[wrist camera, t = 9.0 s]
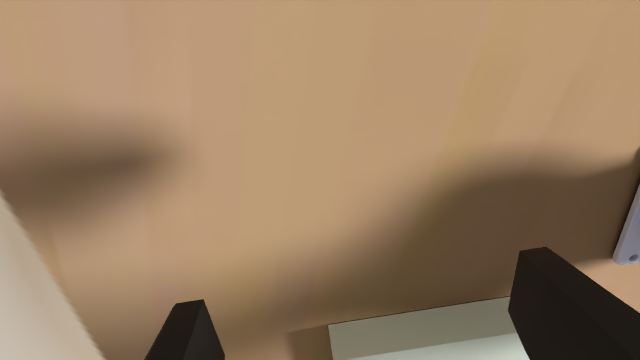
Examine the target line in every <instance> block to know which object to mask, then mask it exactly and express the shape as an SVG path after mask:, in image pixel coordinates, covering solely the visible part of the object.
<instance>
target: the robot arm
mask: <svg viewBox="0 0 640 360" xmlns="http://www.w3.org/2000/svg"><path fill="white" fill-rule="evenodd" d="M613 260H614V261H615V262H616V263H617V264H619V265H624V264H631V263H637V262H640V185H639V187H638V190H637V193H636V195H635V198H634V201H633V203H632V206H631V209H630V211H629V214H628V217H627V220H626V222H625V225H624V228H623V230H622V233H621V236H620V238H619V241H618V244H617V246H616V249H615V252H614V254H613ZM508 313H509V315H510V317H511V320H512V322H513V325H514V327H515V329H516V332H517V334H518V336H519V338H520V341H521V343H522V345H523V347H524V350H525V352H526V354H527V355H528V357H529V359H530V360H640V313H639V312H637V311H636V310H634V309H633V308H632V307H630V306H629V305H627V304H626V303H624V302H623V301H621V300H620V299H619V298H617V297H616V296H614V295H613V294H611V293H610V292H609V291H607V290H606V289H604V288H603V287H602V286H600V285H599V284H597V283H596V282H595V281H593V280H592V279H590V278H589V277H588V276H586V275H585V274H584V273H582V272H581V271H579V270H578V269H577V268H575V267H574V266H572V265H571V264H570V263H568V262H567V261H566V260H564V259H563V258H561V257H560V256H558V255H557V254H556V253H554V252H553V251H551V250H550V249H548V248H547V247H542V248H535V249H529V250H522V251H520V252H519V257H518V262H517V267H516V272H515V276H514V281H513V286H512V291H511V296H510V301H509V306H508ZM144 360H225V354H224V352H223V349H222V347H221V344H220V341H219V339H218V336H217V334H216V331H215V328H214V326H213V323H212V320H211V318H210V315H209V313H208V310H207V307H206V305H205V302H204V300H203V299H202V300H196V301H189V302H183V303H176V304H175V306H174V307H173V308H172V310H171V312H170V314H169V316H168V317H167V319H166V321H165V323H164V325H163V327H162V329H161V330H160V332H159V334H158V336H157V338H156V340H155V341H154V343H153V345H152V347H151V349H150V350H149V352H148V354H147V356H146V357H145V359H144Z"/></svg>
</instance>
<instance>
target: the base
mask: <svg viewBox="0 0 640 360" xmlns="http://www.w3.org/2000/svg"><path fill="white" fill-rule="evenodd" d="M509 301H510V297H504V298H498V299H491V300H485V301H478V302H472V303H465V304H459V305H453V306H446V307H440V308H433V309H427V310H421V311H414V312H408V313H401V314H395V315H388V316H382V317H376V318H369V319H363V320H356V321H350V322H344V323H337V324H331V325H328V329H329V336H330V343H331V350H332V357H333V360H530V359H529V357H528V355H527V354H526V352H525V350H524V347H523V345H522V343H521V341H520V338H519V336H518V334H517V332H516V329H515V327H514V325H513V322H512V320H511V317H510V315H509V313H508V306H509Z"/></svg>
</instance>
